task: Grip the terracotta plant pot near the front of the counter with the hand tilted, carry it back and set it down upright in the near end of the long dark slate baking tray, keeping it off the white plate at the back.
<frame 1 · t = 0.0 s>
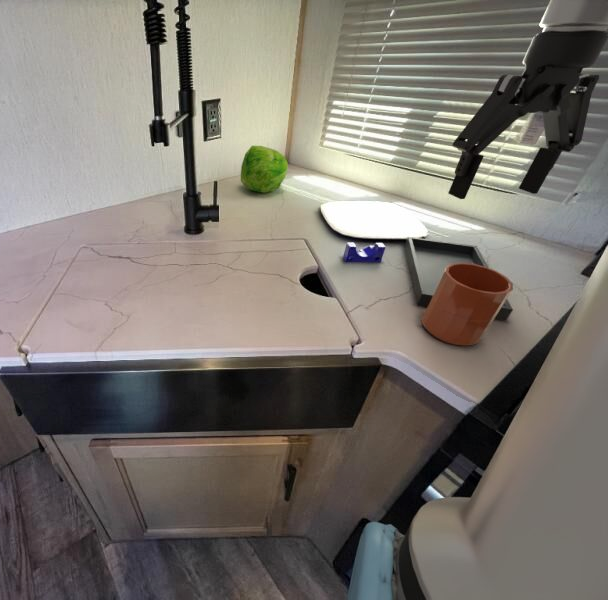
hand: (492, 193, 57), 21 cm above the worktop, tool pointing down, fingers open, 13 cm apart
tray: (447, 277, 75), on the worktop
lettuce: (262, 190, 120), on the worktop
terracotta plant pot: (449, 329, 61), on the worktop
plate: (368, 223, 98), on the worktop
cable holder: (360, 259, 82), on the worktop
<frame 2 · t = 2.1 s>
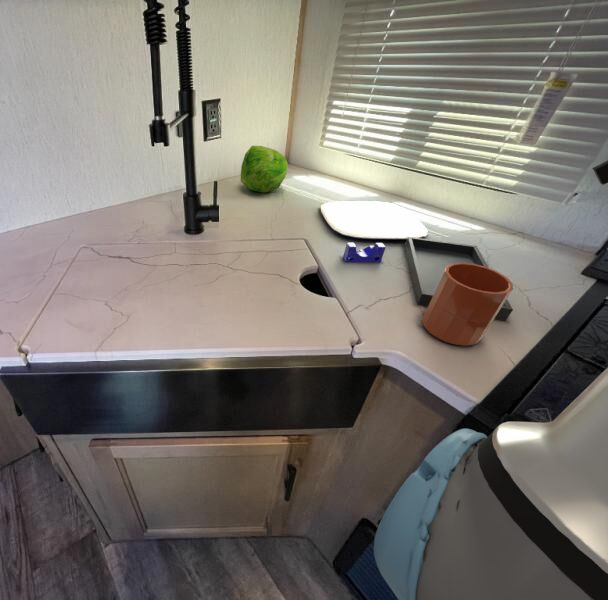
nothing on the worktop moved.
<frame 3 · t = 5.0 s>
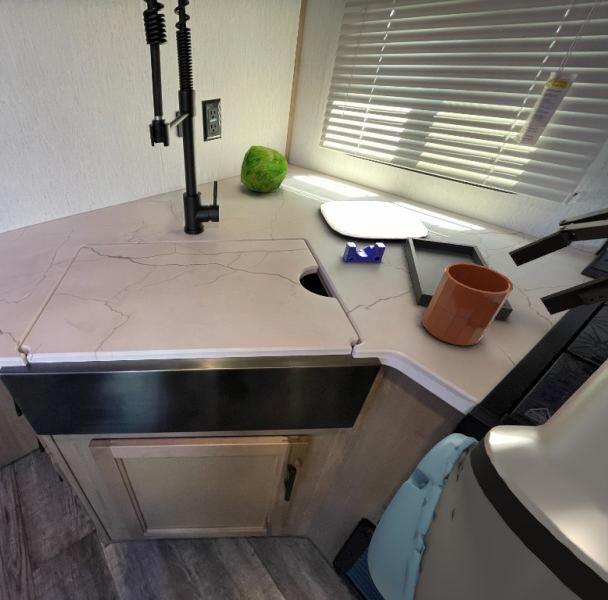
hand: (527, 281, 53), 12 cm above the worktop, tool tilted 45°, fingers open, 13 cm apart
nothing on the worktop moved.
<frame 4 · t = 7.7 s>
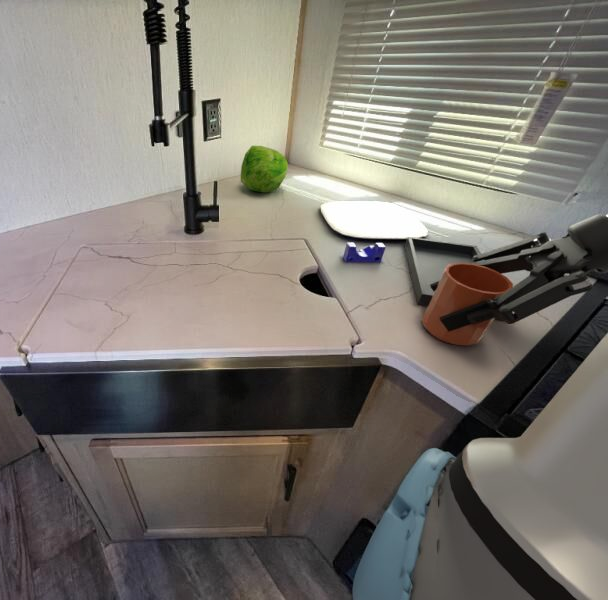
hand: (438, 306, 60), 4 cm above the worktop, tool tilted 45°, fingers closed on terracotta plant pot, 9 cm apart
terracotta plant pot: (449, 329, 61), on the worktop, touching gripper
everything else where it was.
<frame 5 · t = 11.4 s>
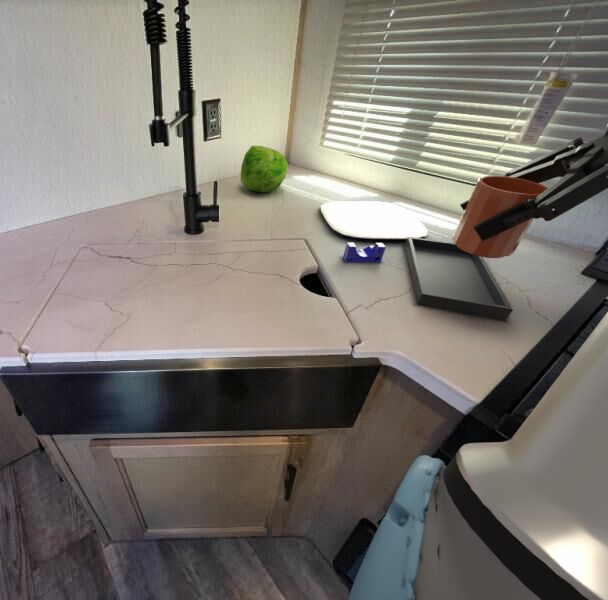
hand: (470, 221, 59), 16 cm above the worktop, tool tilted 45°, fingers closed on terracotta plant pot, 9 cm apart
terracotta plant pot: (480, 247, 61), point 12 cm above the worktop, touching gripper
everything else where it was.
when the fingers open (5 cm above the worktop, at t = 15.3 s): terracotta plant pot stays where it is, resting on tray.
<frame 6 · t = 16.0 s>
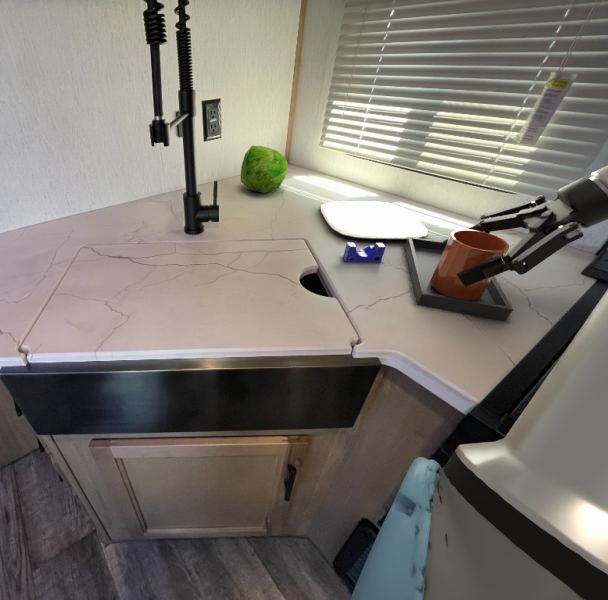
hand: (452, 262, 67), 6 cm above the worktop, tool tilted 45°, fingers open, 13 cm apart
terracotta plant pot: (453, 289, 70), point 1 cm above the worktop, touching tray
everything else where it was.
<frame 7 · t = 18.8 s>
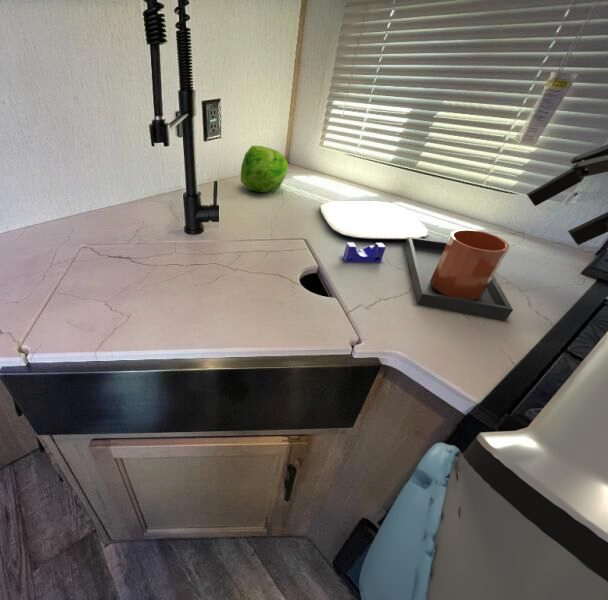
hand: (549, 217, 58), 17 cm above the worktop, tool tilted 40°, fingers open, 13 cm apart
nothing on the worktop moved.
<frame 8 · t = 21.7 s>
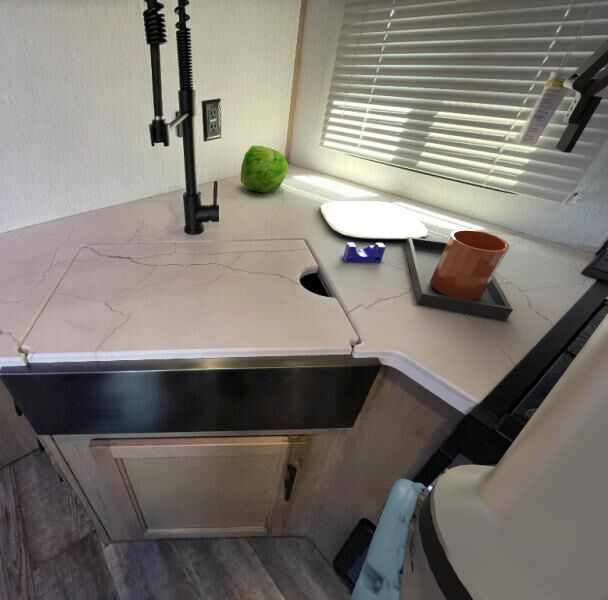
nothing on the worktop moved.
at the end: terracotta plant pot inside the target area in the tray (0.4 cm from its centre), point 0.6 cm above the tray's base; terracotta plant pot tilted 0°; terracotta plant pot touching tray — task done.
